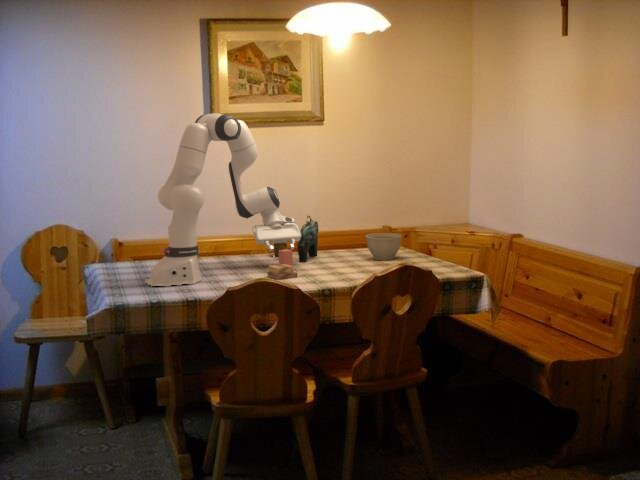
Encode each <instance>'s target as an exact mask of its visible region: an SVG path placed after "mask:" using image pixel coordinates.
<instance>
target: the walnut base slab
mask: <svg viewBox="0 0 640 480" xmlns="http://www.w3.org/2000/svg"><path fill="white" fill-rule="evenodd" d="M267 277H268V278H270V279H273V278H274V279H273V280H277V281H280V280H281V281H282V280H288V279H296V278H298V272H296V271H294V270H293V273H286V274H274V273H271V272H269V271H267Z"/></svg>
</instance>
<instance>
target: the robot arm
mask: <svg viewBox="0 0 640 480" xmlns="http://www.w3.org/2000/svg"><path fill="white" fill-rule="evenodd" d="M212 141H214V142H226V143H227V145H228V148H229V151H230V153H231V160H230V162H228V173H229V177H230V181H231V186H232V191H233V195H234V196H233V197H234V200H235V201H234V203H235V210H236V212H237V214H238V216H239V217H241V218H244V219H247V220H248V219H249V218H251V217H254V216H255V215H258V214H260V216H261V218H262V223H263V224H260V225H258V224H257V225H256V224H255V225H254V226H253V227H252V233H253V234H254V239H255V243H256V245H264V246H265V247H266V248H267V249H268V250H269V252H274V245H273V244H274V243H285V242H287V243H290V244H289V250H294V249H295V243H296V242H297V243H298V241H299V240H300V239H301V232H300V230H301V229H300V228H299V226H298V224H296V222H295V221H296V220H295V219H294V217H288V216H284V215H282V213H281V212H280V211H281V209H280V205H281V202H280V200H279V196H278V193H277V192H276V190H275V189H274V188H273V187H270V186H265V187H261V188H259V189H257V190H254V191H251V192H249V193H246V194H245V193H244V192H243V186H242V181H241V176H242V175H243V173H245V171H246V170H247V169H249V168H250V167H251V166H252V165H253V164H254V163H255V162H256V159H257V158H258V155H259V150H258V146H257V143H256V141H255V138H254V136H253V134H252V132H251V130H250V128H249V127H248V125H247V124H246V122H245V121H243V120H242V119H237V118H236V117H234V116H232V114H231V115H230V114H226V113H225V114H223V113H215V112H214V113H204V114H201V115H200V116H199V117H197V118H196V120H195V121H194V122H193V123H189V124H188V125H186V128H185V130H184V132H183V134H182V136H181V140H180V142H179V145H178V150H177V154H176V157H175V159H174V160H175V161H174V164H173V167H172V168H171V172H170V174H169V176H168V177H167V179H166V181H165V183H164V185H163V186H162V187H160V189H159V191H158V193H157V199H158V202H159V204H160V205H161V206H163V207H164V208H166V209H167V210H169V211H172V216H171V221H170V222H169V223H170V224H168V228H167V232H168V233H167V234H168V236H167V237H168V247H166V248H165V247H163V246H162V247H161V248H160V252H161V253H162V254H164V257H162V258H161V259H160V260H159V261H158V262H157V263H155V264H154V265H153V266H152V267H151V271H150V278H148V279H145V281H144V284H146V283H147V284H148V285H147V284H146V285H147V286H149V285H151V286H150V287H152V286H165V287H172V286H171V285H177V286H183V285H182V284H189V285H195V284H196V283H198V282H201V281H203V277H202V274H201V273H202V272H201V270H200V265H199V255H200V254H199V253H200V252H199V245H198V243H197V242H198V240H197V224H198V223H197V222H198V218H199V214H200V211H201V209H202V207H203V205H204V204H205V194H204V192H203V191H202V189H200V188H198V187H196V186H194V184H195V181H197V179H198V177H200V175H201V174H202V172H203V168H204V164H205V161H206V157H207V152H208V147H209V144H210V143H211V142H212ZM271 244H272V245H271Z"/></svg>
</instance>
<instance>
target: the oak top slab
mask: <svg viewBox="0 0 640 480" xmlns="http://www.w3.org/2000/svg"><path fill="white" fill-rule="evenodd" d="M293 271H294V265H293V266H290V265H286V264H280V265H279V264H274V265H268V272H271V273H274V274H286V273H293Z"/></svg>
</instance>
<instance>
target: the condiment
mask: <svg viewBox="0 0 640 480" xmlns="http://www.w3.org/2000/svg"><path fill="white" fill-rule="evenodd" d="M287 243H288V242H285V243H273V248H274V250H273V254H272V255H275V257H273V256H272V255H268V257H270V258H274V259H279V250H286V249H288V244H287Z"/></svg>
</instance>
